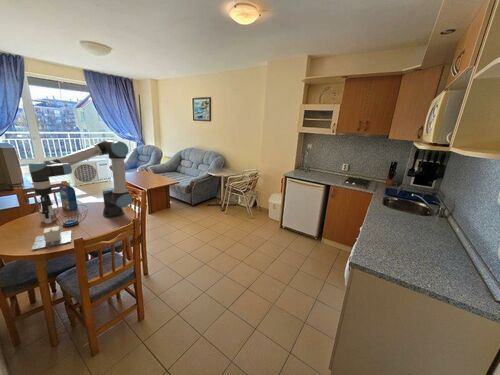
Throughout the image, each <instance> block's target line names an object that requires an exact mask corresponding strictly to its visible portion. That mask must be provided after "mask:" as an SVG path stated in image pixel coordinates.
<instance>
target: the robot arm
mask: <svg viewBox="0 0 500 375" xmlns="http://www.w3.org/2000/svg"><path fill="white" fill-rule="evenodd" d="M128 154H129V147H128V145H127V144H126V143H125V142H123V141H121V140H115V139H106V140H102V141H99V142H97V143H93V145H92V146H89V147H87V148H83V149H80V150H77V151H74V152H72V153H69V154H65V155H63V156H60V157H57V158H53V159H51V160H44V161H37V162H35V161H34V162H31V163H29V164H28V170H29V174H30V178H31V181H32V182H31V185H33V188H34V189H33V190H34V193H35V195H36V196H40V197H39V200H40V205H41V209H42V212H43V213H42V214H44V218H45V222H44V223H45V224H51V223H52V222H53V221H51V216H50V215H54V213H53V209H52V208H53V205H54V204H53V202H52V200H51V197H50V194H51V193H53V190H52V187H51V186H52V185H51V182H50V181H51V180H50V178H51V177H59V176H66V175H71V174H72V173H73V168H72V166H73V165H76V164H79V163H81V162H84V161H88V160H90V159H91V158H95V157H98V156H101V157H102V156H105V155H108V159H110V160H111V169H112V180H113V187H112V188H111V187H110V188H105V189H104V190H102V196H103V197H102V198H103V206H104V208H103V211H102V215H103V217H105V218H115V217H119V216H121V215H123V214H124V208H126V207H129V206H130V205H131V203H132V201H133V198H132V195H130V194H129V192H130V190H129V189H128V188H127V180H126V169H125V168H126V166H125V160H126V159H127V155H128ZM45 211H47V212H45Z"/></svg>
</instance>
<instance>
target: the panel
mask: <svg viewBox="0 0 500 375" xmlns="http://www.w3.org/2000/svg"><path fill="white" fill-rule="evenodd" d="M60 234H61V237H60V240H57V241H52V242H47V243H45V238H44V234H43V235H38V236H36V237H35V240H34V242H33V245H32V247H31V251H32V250H34V251H39V250H43V248H44V249H47V248H48V247H49V248H53V247H58V246H62V244H63V245H68V244H72V230H66V231H62V232H61V231H60ZM67 243H68V244H67ZM57 245H58V246H57ZM52 246H53V247H52ZM38 249H39V250H38Z"/></svg>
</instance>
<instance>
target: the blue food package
mask: <svg viewBox="0 0 500 375" xmlns="http://www.w3.org/2000/svg"><path fill="white" fill-rule="evenodd" d="M58 190H59V191H58V192H59V197H60V202H61V206H62V209H64V210H66V211H70V212H72V211H75V210H78V209H79V208H78V202H77V196H76V190H75V188H74V187H72V186H71V184H70V182H67V181H64V180H61V185H60V186H59V189H58Z"/></svg>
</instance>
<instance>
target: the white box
mask: <svg viewBox="0 0 500 375" xmlns="http://www.w3.org/2000/svg"><path fill="white" fill-rule="evenodd" d="M60 229H61V228H60V226H59V225H58V226H53V227H52V226H51V227H45V228H44V230H43V235H44V238H45V243H47V242H52V241H57V240H60V237H61V234H60V232H61V231H60Z"/></svg>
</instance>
